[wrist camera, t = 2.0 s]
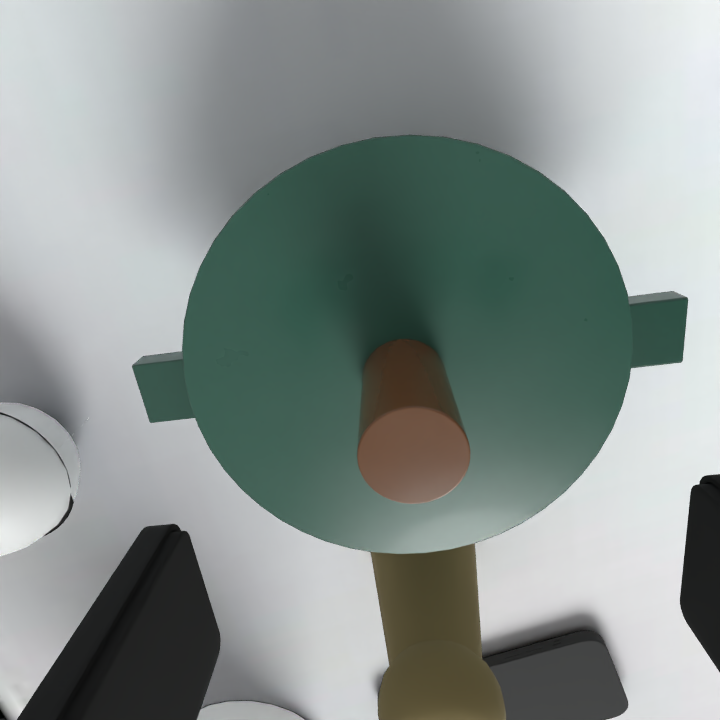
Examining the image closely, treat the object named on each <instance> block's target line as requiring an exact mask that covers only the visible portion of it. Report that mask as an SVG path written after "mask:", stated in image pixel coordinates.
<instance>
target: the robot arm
mask: <svg viewBox="0 0 720 720" xmlns="http://www.w3.org/2000/svg"><path fill="white" fill-rule="evenodd" d="M680 605H681V610H682V613H683V616H684V618H685V620H686V622H687V624H688V625H689V627H690V628H691V630H692V631H693V633H694V634H695V636H696V637H697V639H698V640H699V642H700V643H701V645H702V646H703V648H704V649H705V651H706V652H707V654H708V655H709V657H710V658H711V660H712V661H713V663H714V664H715V666H716V667H717V669H718V670H719V672H720V474H718V475H707V476H704V477H702V479H701V480H700V484H699V485H695V486H693V487H692V489H691V495H690V505H689V515H688V525H687V535H686V545H685V555H684V565H683V575H682V585H681V595H680ZM219 651H220V633H219V629H218V626H217V623H216V620H215V616H214V613H213V610H212V607H211V603H210V600H209V597H208V594H207V591H206V587H205V584H204V581H203V578H202V574H201V571H200V568H199V565H198V562H197V558H196V555H195V552H194V549H193V545H192V542H191V539H190V536H189V534H188V533H187V531H181V530H180V528H179V527H178V525H176V524H169V525H158V526H148V527H145V528H144V529H143V530H142V531H141V532H140V534H139V535H138V537H137V538H136V540H135V541H134V543H133V544H132V546H131V547H130V549H129V550H128V552H127V553H126V555H125V556H124V558H123V560H122V561H121V563H120V564H119V566H118V567H117V569H116V570H115V572H114V573H113V575H112V576H111V578H110V579H109V581H108V582H107V584H106V585H105V587H104V588H103V590H102V591H101V593H100V594H99V596H98V597H97V599H96V600H95V602H94V604H93V605H92V607H91V608H90V610H89V611H88V613H87V614H86V616H85V617H84V619H83V620H82V622H81V623H80V625H79V626H78V628H77V629H76V631H75V632H74V634H73V635H72V637H71V638H70V640H69V641H68V643H67V644H66V646H65V647H64V649H63V651H62V652H61V654H60V655H59V657H58V658H57V660H56V661H55V663H54V664H53V666H52V667H51V669H50V670H49V672H48V673H47V675H46V676H45V678H44V679H43V681H42V682H41V684H40V685H39V687H38V688H37V690H36V691H35V693H34V694H33V696H32V698H31V699H30V701H29V702H28V704H27V705H26V707H25V708H24V710H23V711H22V713H21V714H20V716H19V717H18V719H17V720H197V718H198V715H199V712H200V709H201V706H202V703H203V700H204V697H205V694H206V691H207V688H208V685H209V682H210V679H211V676H212V673H213V670H214V667H215V664H216V661H217V658H218V655H219Z"/></svg>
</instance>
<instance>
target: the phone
mask: <svg viewBox="0 0 720 720" xmlns="http://www.w3.org/2000/svg"><path fill="white" fill-rule="evenodd" d="M482 660H484V661H485V662H486V663H487V665H488V666H489V668H490V669H491V671H492V672H493V674H494V675H495V677H496V679H497V681H498V683H499V685H500V687H501V691H502V695H503V699H504V705H505V711H506V720H606V719H610V718H614V717H617V716H619V715H621V714H623V713H624V712H625V711H626V709H627V708H628V700H627V697H626V694H625V692H624V689H623V687H622V684H621V682H620V679H619V677H618V674H617V671H616V669H615V666H614V664H613V661H612V659H611V656H610V654H609V652H608V649H607V647H606V645H605V643H604V640H603V639H602V637H601V636H600V635H599V634H597V633H595V632H592V631H580V632H576V633H572V634H568V635H565V636H561V637H558V638H554V639H551V640H547V641H543V642H540V643H536V644H533V645H529V646H526V647H522V648H518V649H515V650H511V651H508V652H504V653H501V654H497V655H493V656H490V657H486V658H483V659H482ZM379 693H380V691H379ZM379 693H378V699H379Z"/></svg>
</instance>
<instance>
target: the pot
mask: <svg viewBox="0 0 720 720" xmlns="http://www.w3.org/2000/svg"><path fill="white" fill-rule="evenodd" d="M628 300H629V306H630V312H631V318H632V333H633V354H632V362H631V368H636V367H645V366H654V365H663V364H672V363H680V362H682V361H683V350H684V339H685V328H686V317H687V306H688V298H687V297H685V296H683V295H681V294H678V293H676V292H674V291H670V292H661V293H653V294H645V295H637V296H629V297H628ZM132 368H133V371H134V374H135V377H136V380H137V383H138V386H139V390H140V393H141V396H142V399H143V402H144V405H145V408H146V411H147V414H148V418H149V421H150V423H154V422H162V421H171V420H180V419H189V418H195V415H194V413H193V410H192V407H191V404H190V401H189V396H188V392H187V387H186V382H185V378H184V367H183V353H182V352H174V353H166V354H158V355H150V356H143V357H142V358H141V359H139V360H138V361H137V362H136V363H135V364H133V365H132Z"/></svg>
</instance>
